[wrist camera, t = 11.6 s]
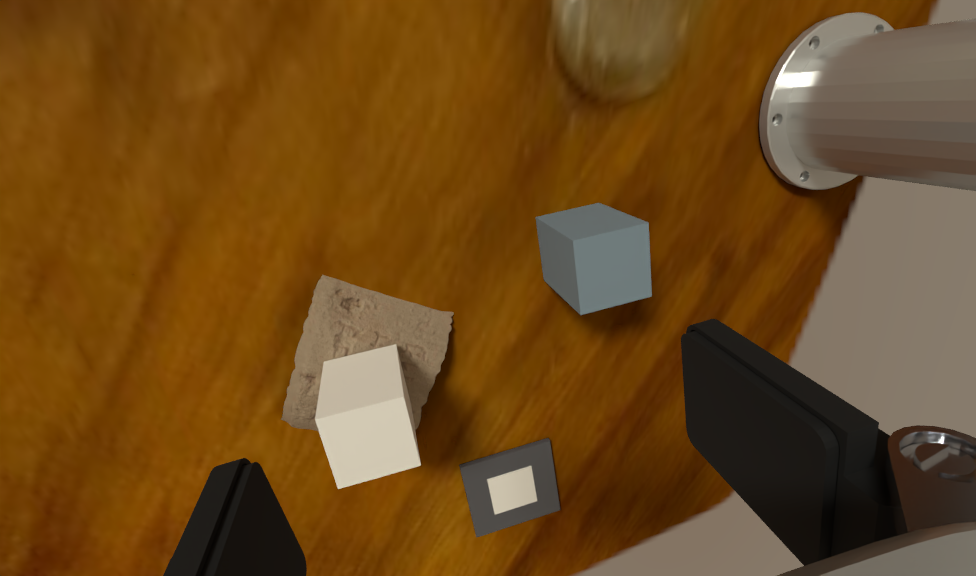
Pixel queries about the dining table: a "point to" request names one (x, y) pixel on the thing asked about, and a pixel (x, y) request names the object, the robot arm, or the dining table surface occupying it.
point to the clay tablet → (364, 343)
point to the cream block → (366, 417)
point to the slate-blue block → (595, 256)
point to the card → (511, 487)
